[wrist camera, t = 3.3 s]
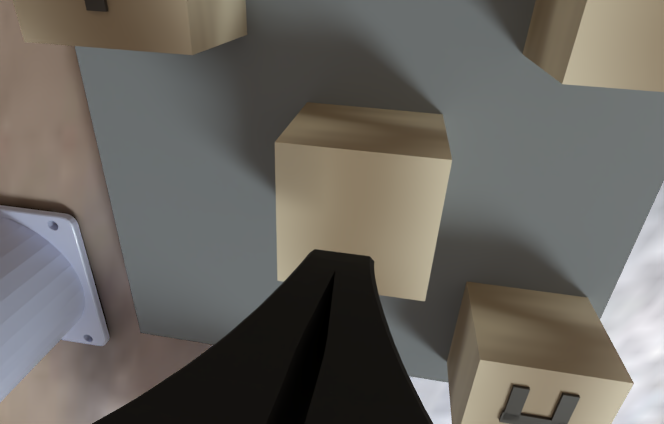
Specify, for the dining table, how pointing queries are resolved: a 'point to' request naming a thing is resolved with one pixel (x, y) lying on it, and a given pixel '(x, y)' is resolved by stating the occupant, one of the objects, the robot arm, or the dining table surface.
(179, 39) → the tan cube
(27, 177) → the dining table surface
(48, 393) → the dining table surface
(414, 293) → the plain block
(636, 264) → the dining table surface
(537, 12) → the block seven
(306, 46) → the mat
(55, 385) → the dining table surface
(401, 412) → the robot arm
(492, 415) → the block four
